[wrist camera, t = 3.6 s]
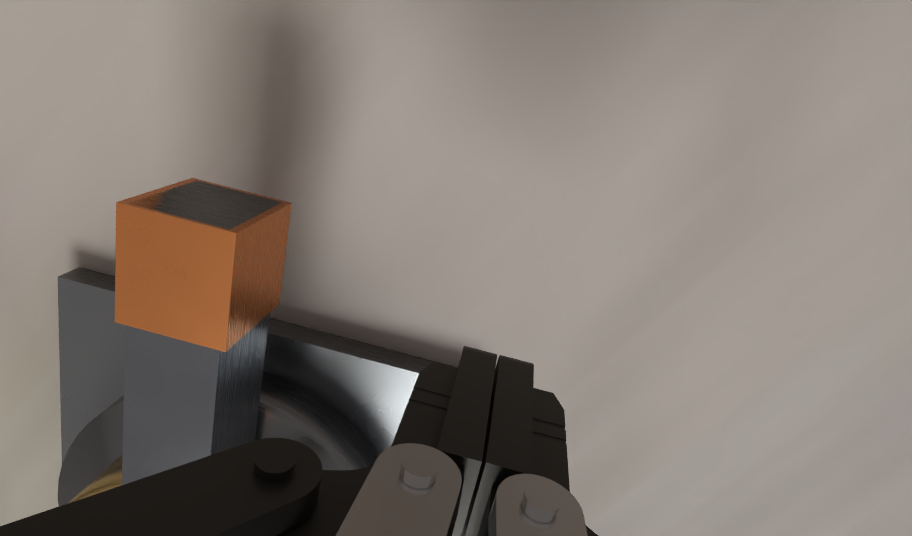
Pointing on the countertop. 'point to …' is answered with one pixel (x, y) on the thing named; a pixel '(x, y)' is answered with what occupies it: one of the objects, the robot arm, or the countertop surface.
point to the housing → (281, 399)
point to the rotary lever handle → (192, 321)
